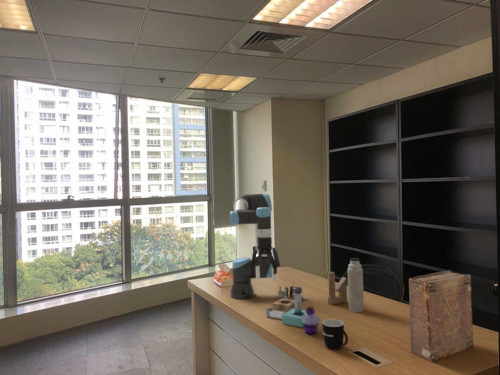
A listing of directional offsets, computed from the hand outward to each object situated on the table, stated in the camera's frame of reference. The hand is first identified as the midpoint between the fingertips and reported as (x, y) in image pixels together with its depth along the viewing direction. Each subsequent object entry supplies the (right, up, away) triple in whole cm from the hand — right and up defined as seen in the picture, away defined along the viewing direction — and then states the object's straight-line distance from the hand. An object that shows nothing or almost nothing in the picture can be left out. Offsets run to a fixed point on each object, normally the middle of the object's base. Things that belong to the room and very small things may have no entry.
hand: (265, 279), depth 199 cm
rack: (+11, -19, +6) cm, 23 cm away
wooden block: (+42, -18, +17) cm, 49 cm away
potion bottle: (+20, -19, -24) cm, 37 cm away
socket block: (+16, -19, -10) cm, 27 cm away
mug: (+28, -19, -41) cm, 53 cm away
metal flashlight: (+16, -19, -10) cm, 27 cm away
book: (+70, -18, -47) cm, 86 cm away
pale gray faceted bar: (+7, -19, -4) cm, 21 cm away
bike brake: (+18, -19, +26) cm, 37 cm away
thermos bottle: (+49, -18, +4) cm, 53 cm away
